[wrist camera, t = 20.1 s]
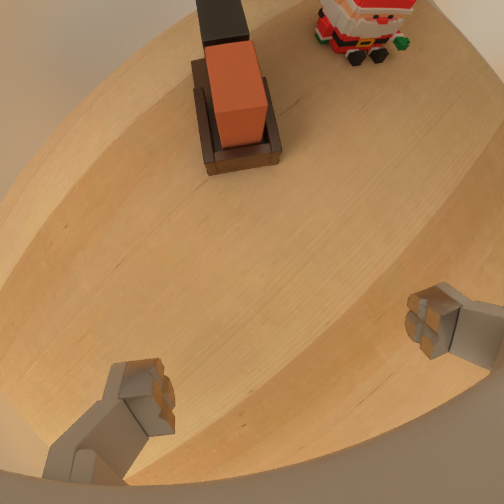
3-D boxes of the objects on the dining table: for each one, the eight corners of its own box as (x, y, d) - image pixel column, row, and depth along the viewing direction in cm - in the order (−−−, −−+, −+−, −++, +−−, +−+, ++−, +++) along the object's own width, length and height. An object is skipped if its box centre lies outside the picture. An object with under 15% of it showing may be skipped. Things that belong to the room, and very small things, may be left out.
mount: (208, 176, 26) (189, 137, 16) (192, 66, 25) (173, -1, 15) (277, 164, 26) (297, 120, 16) (253, 56, 25) (258, -13, 15)
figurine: (332, 69, 26) (373, -8, 14) (304, 20, 25) (327, -59, 13) (398, 61, 26) (452, 0, 14) (369, 15, 26) (407, -50, 14)
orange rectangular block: (224, 157, 25) (214, 113, 16) (215, 105, 25) (204, 46, 16) (259, 151, 25) (268, 105, 16) (249, 99, 25) (252, 39, 16)
